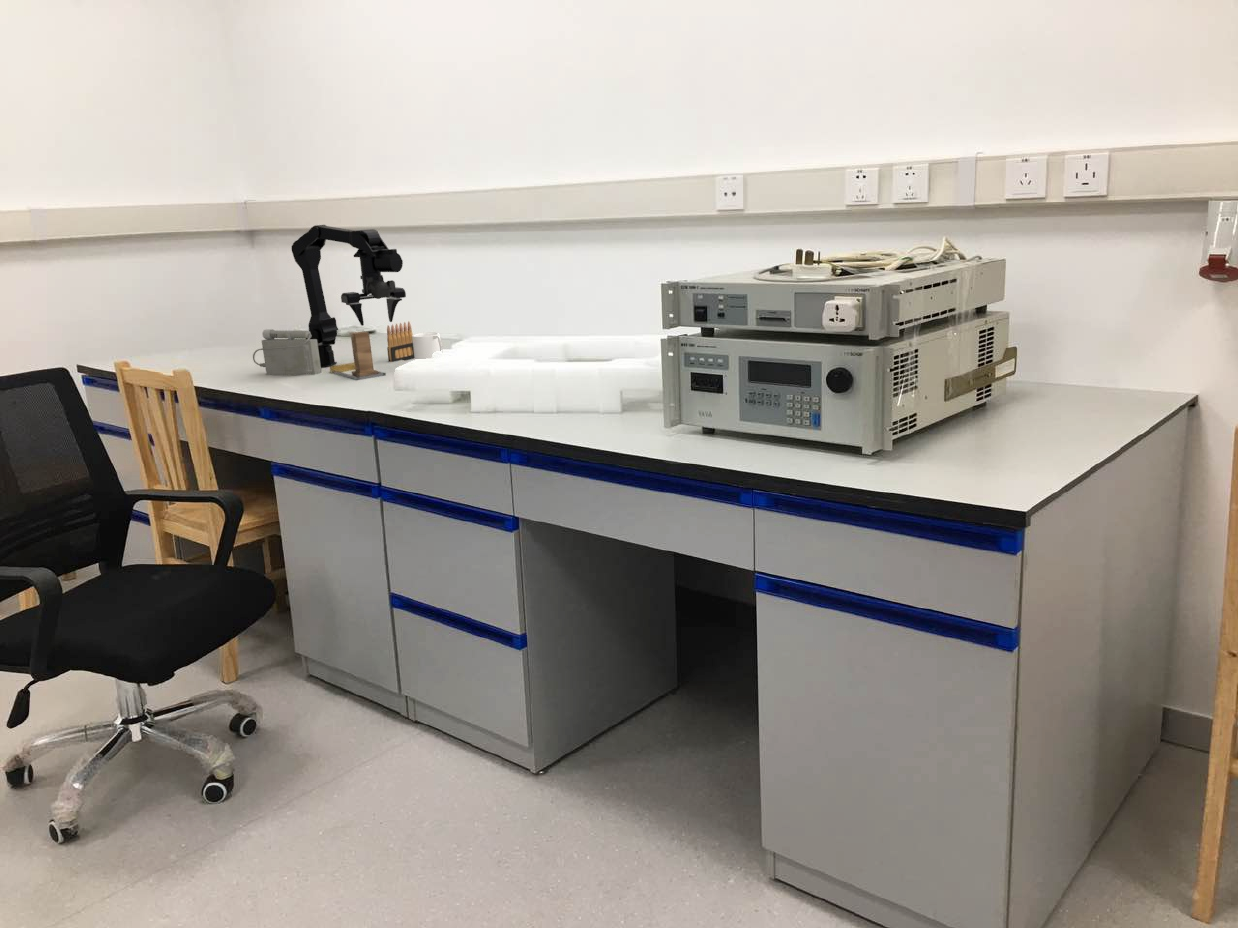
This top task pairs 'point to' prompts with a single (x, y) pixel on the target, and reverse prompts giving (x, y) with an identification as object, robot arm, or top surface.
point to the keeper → (362, 354)
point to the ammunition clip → (400, 343)
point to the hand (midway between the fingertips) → (376, 323)
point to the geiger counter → (289, 353)
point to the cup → (426, 344)
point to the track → (351, 366)
